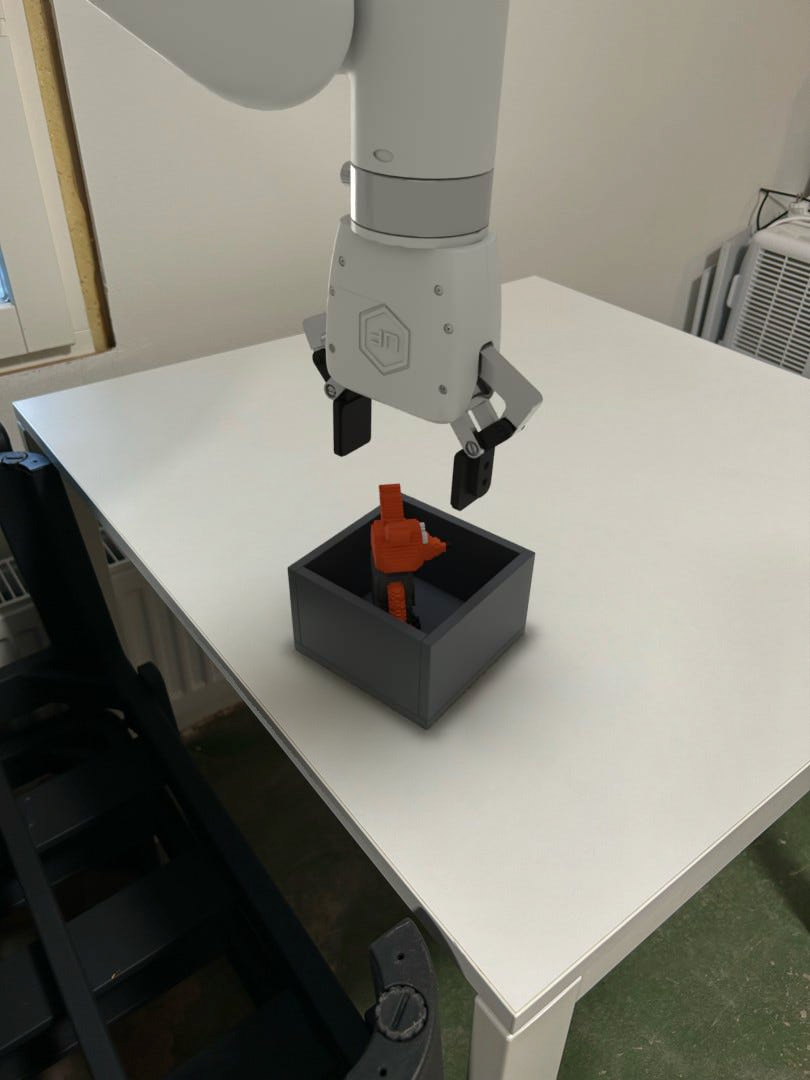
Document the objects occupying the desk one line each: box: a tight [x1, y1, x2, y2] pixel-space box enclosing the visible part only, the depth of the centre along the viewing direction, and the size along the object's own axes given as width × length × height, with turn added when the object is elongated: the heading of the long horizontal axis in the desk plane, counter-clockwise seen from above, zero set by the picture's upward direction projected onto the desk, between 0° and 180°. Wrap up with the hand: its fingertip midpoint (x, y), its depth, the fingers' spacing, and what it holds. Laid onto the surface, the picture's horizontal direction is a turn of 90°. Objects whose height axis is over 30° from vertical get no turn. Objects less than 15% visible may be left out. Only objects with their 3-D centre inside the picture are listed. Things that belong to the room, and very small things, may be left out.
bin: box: [286, 492, 536, 730], centre depth 61 cm, size 13×13×8 cm
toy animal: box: [371, 482, 451, 629], centre depth 59 cm, size 8×6×12 cm
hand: (408, 473), depth 54 cm, fingers open, 9 cm apart
